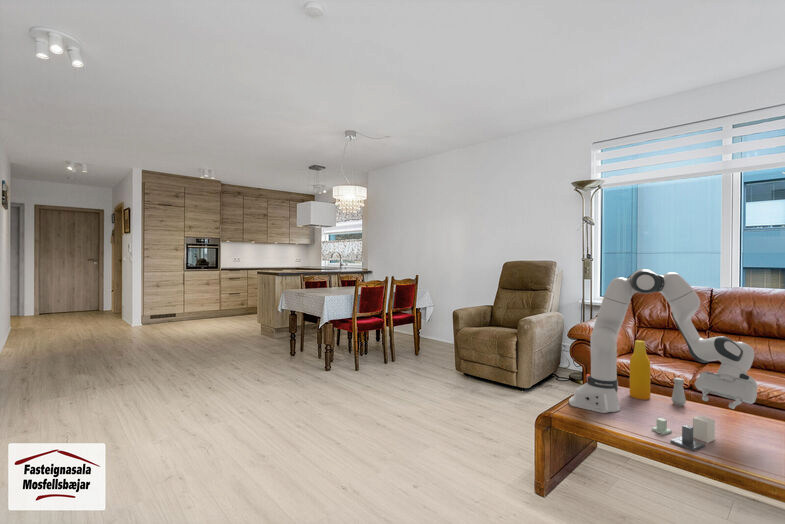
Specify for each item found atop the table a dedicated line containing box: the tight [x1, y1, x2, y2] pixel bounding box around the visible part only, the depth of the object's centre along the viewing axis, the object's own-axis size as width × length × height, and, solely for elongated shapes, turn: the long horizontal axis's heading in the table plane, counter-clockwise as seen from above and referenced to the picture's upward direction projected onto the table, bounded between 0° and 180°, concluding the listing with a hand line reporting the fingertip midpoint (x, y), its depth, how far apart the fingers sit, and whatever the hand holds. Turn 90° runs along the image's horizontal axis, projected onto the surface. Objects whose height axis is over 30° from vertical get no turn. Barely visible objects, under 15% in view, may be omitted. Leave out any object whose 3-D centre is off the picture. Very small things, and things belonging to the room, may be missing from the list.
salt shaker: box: [671, 377, 687, 407], centre depth 196 cm, size 6×6×13 cm
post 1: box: [651, 417, 672, 436], centre depth 167 cm, size 5×5×5 cm
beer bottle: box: [629, 339, 651, 401], centre depth 207 cm, size 9×9×29 cm
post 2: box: [670, 424, 706, 452], centre depth 155 cm, size 8×8×7 cm
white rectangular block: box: [692, 414, 716, 444], centre depth 160 cm, size 5×5×8 cm
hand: (717, 403), depth 164 cm, fingers open, 8 cm apart
